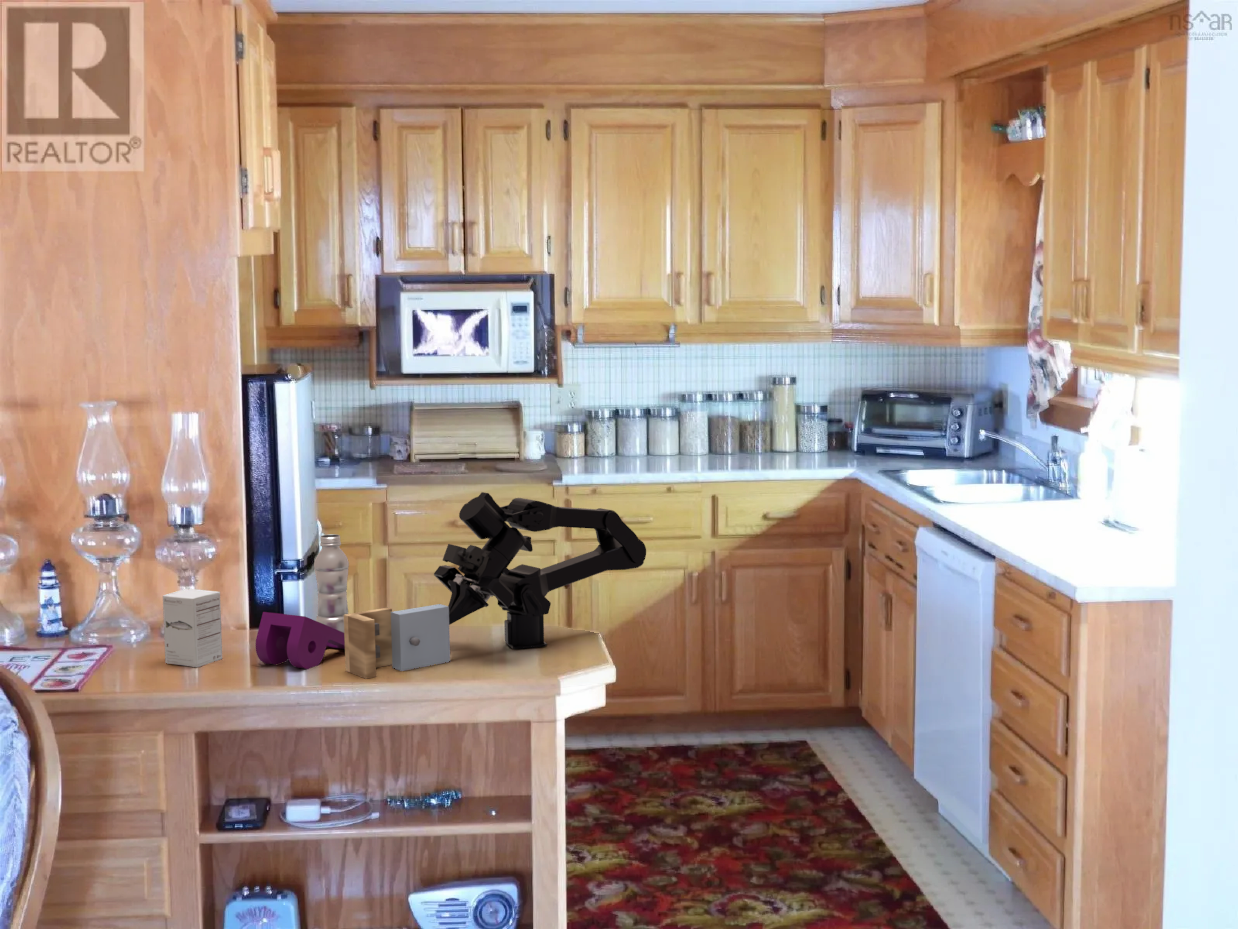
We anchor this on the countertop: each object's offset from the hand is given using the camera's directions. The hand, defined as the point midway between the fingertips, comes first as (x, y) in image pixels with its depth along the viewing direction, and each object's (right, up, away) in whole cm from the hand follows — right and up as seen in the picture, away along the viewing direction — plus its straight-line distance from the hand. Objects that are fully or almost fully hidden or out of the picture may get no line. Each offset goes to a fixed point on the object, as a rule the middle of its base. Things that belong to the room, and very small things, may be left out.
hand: (446, 623), depth 264 cm
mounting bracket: (-25, -7, +4) cm, 26 cm away
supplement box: (-46, -7, +2) cm, 46 cm away
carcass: (-11, -8, -6) cm, 15 cm away
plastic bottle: (-24, -5, +18) cm, 30 cm away
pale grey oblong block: (-4, -7, -2) cm, 9 cm away
